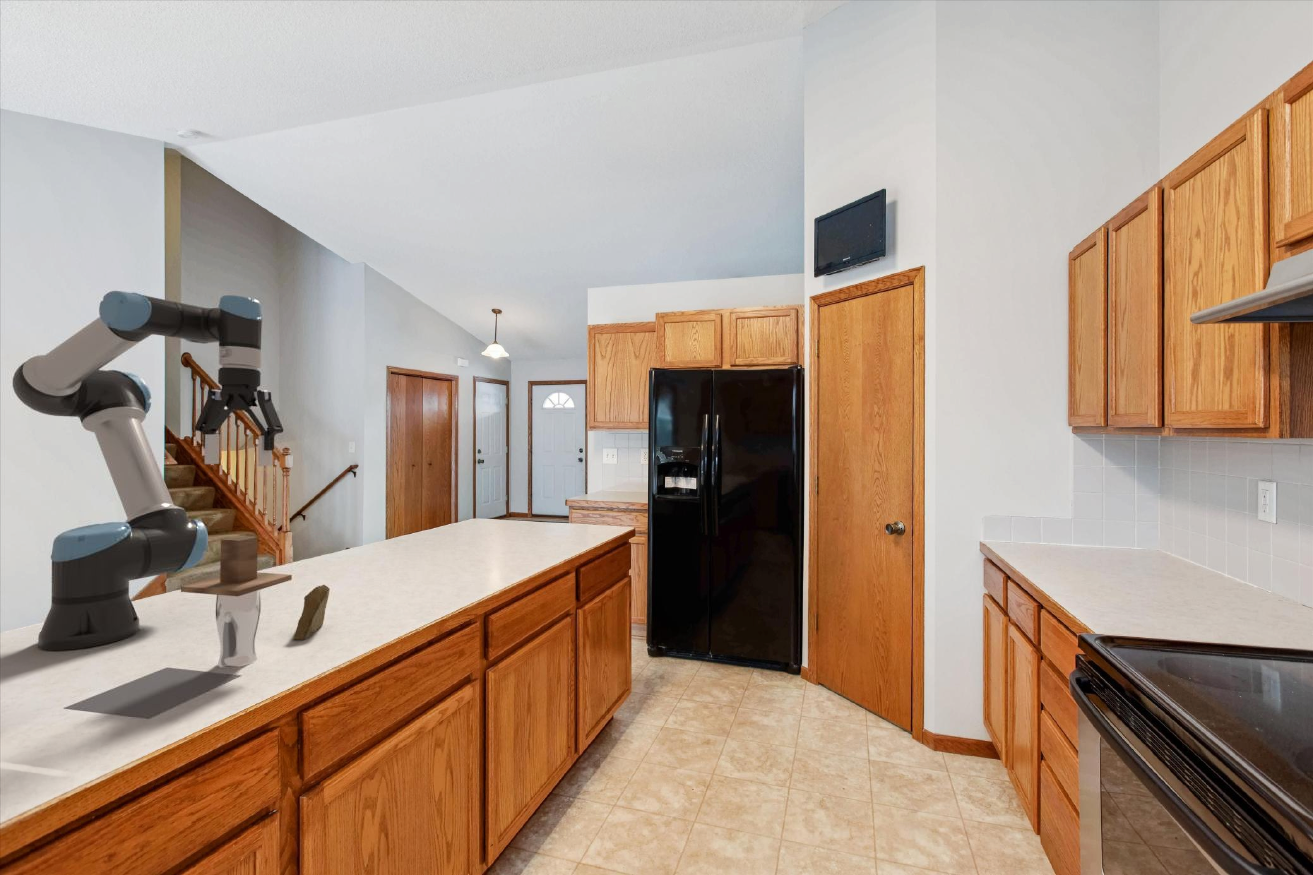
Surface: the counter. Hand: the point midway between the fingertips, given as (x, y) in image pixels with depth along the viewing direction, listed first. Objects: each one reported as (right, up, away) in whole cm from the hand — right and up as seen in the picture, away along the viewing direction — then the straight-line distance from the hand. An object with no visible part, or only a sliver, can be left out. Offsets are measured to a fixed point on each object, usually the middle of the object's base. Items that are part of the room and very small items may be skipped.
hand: (238, 465), depth 126 cm
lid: (+13, -22, -17) cm, 31 cm away
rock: (+14, -37, +1) cm, 40 cm away
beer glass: (+12, -37, -17) cm, 43 cm away
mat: (+8, -37, -30) cm, 48 cm away
